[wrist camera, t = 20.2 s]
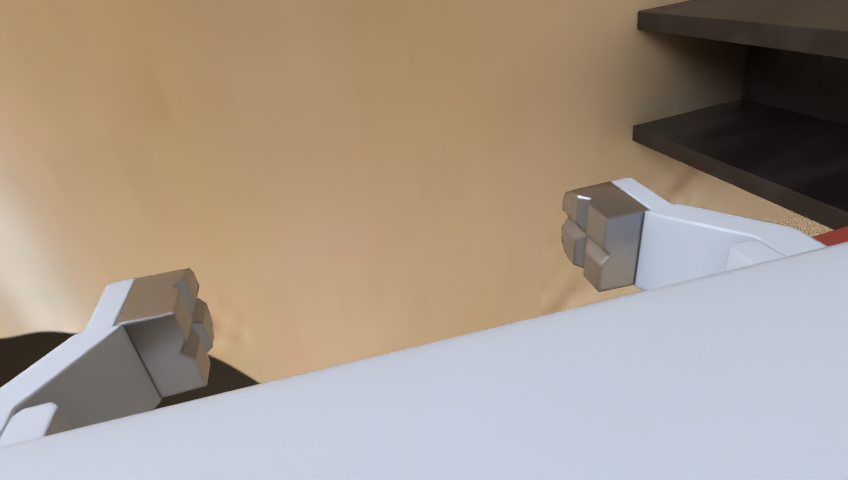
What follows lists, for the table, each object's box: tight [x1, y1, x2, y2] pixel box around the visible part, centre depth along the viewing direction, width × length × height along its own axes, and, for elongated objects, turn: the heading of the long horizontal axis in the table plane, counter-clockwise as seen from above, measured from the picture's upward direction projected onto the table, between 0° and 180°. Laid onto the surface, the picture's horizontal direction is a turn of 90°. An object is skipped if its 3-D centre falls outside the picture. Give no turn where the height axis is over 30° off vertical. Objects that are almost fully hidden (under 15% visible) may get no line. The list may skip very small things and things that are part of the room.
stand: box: [633, 0, 848, 230], centre depth 39 cm, size 12×14×26 cm
